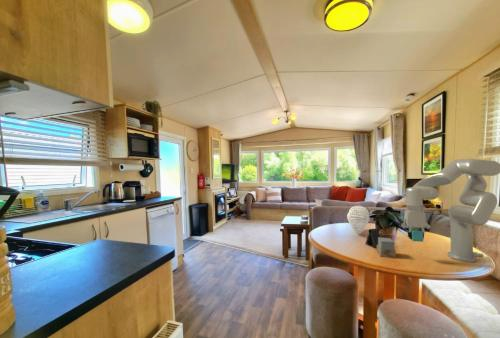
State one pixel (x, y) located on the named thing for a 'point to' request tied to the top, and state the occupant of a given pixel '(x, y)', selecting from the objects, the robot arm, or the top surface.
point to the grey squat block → (386, 243)
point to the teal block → (417, 235)
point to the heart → (358, 231)
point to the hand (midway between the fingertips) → (415, 238)
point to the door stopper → (373, 238)
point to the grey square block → (386, 253)
